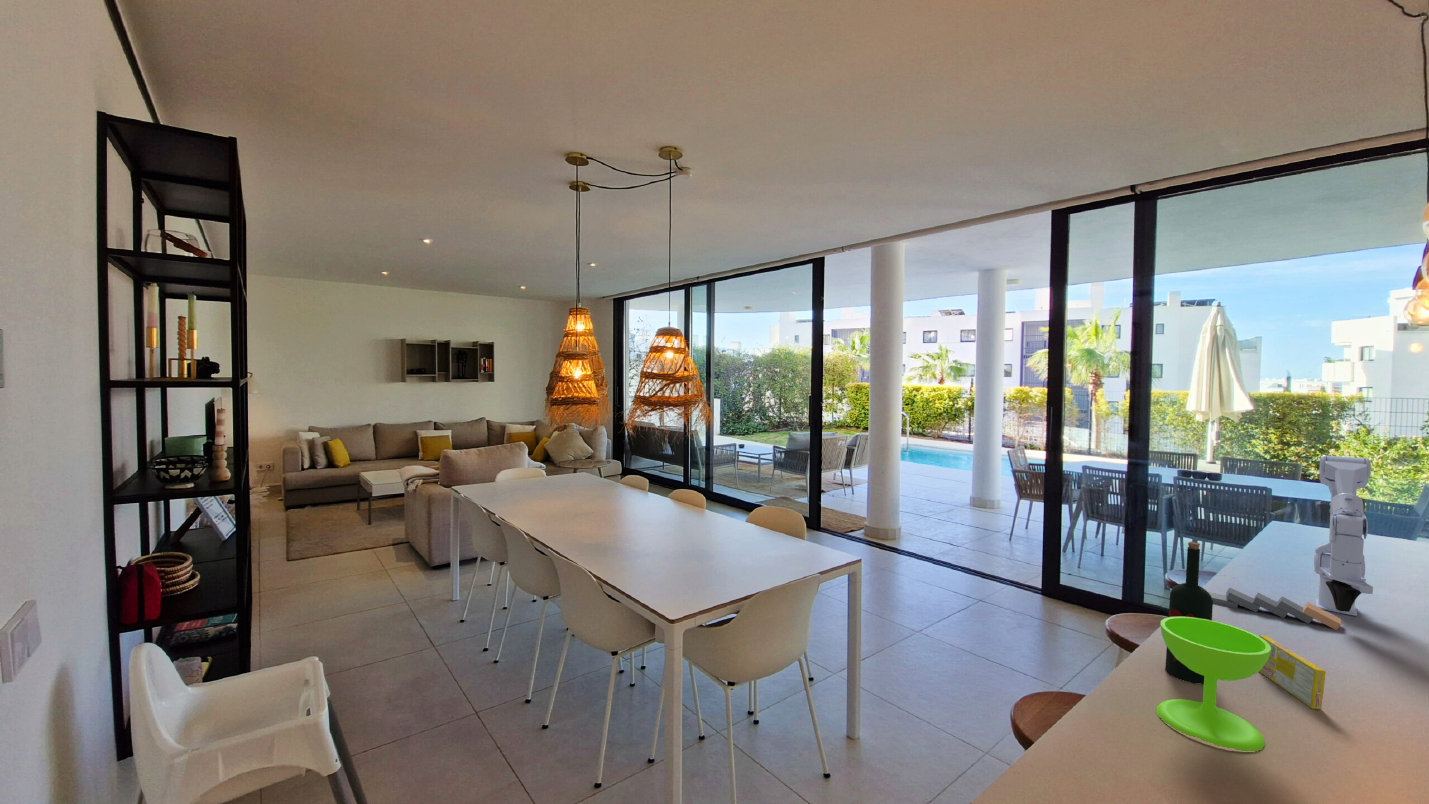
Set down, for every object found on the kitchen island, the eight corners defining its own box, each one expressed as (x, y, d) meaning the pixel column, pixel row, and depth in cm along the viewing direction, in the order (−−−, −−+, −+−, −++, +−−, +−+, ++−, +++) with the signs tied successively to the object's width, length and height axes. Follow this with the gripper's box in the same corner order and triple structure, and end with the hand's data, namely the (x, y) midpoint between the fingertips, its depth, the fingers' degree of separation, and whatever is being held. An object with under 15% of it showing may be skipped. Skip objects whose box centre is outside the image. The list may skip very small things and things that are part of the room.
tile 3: (1284, 613, 165) (1254, 597, 169) (1288, 607, 164) (1257, 592, 169) (1283, 618, 161) (1252, 602, 166) (1288, 612, 161) (1256, 596, 165)
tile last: (1238, 604, 172) (1207, 598, 177) (1238, 598, 171) (1207, 591, 176) (1237, 609, 168) (1205, 602, 173) (1237, 603, 168) (1205, 596, 173)
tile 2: (1308, 618, 161) (1277, 601, 166) (1313, 613, 160) (1282, 596, 165) (1308, 623, 158) (1276, 606, 162) (1313, 618, 157) (1281, 600, 161)
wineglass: (1290, 753, 104) (1297, 655, 103) (1199, 752, 104) (1205, 653, 103) (1214, 702, 120) (1219, 616, 119) (1136, 701, 120) (1140, 615, 119)
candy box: (1324, 710, 117) (1326, 670, 117) (1311, 709, 118) (1314, 669, 117) (1265, 670, 133) (1267, 634, 133) (1254, 669, 134) (1257, 633, 133)
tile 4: (1255, 606, 169) (1226, 592, 173) (1259, 600, 168) (1229, 587, 172) (1256, 612, 165) (1226, 598, 169) (1260, 606, 164) (1229, 592, 169)
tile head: (1336, 624, 157) (1303, 607, 162) (1341, 618, 157) (1307, 601, 161) (1336, 630, 154) (1302, 612, 158) (1341, 624, 153) (1307, 606, 158)
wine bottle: (1155, 674, 130) (1161, 543, 129) (1172, 662, 136) (1178, 535, 134) (1199, 691, 124) (1206, 552, 122) (1215, 677, 130) (1222, 544, 128)
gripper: (1389, 570, 146) (1385, 623, 147) (1342, 552, 160) (1339, 601, 161) (1354, 568, 148) (1351, 620, 148) (1311, 550, 162) (1308, 598, 163)
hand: (1342, 610), depth 155 cm, fingers closed
